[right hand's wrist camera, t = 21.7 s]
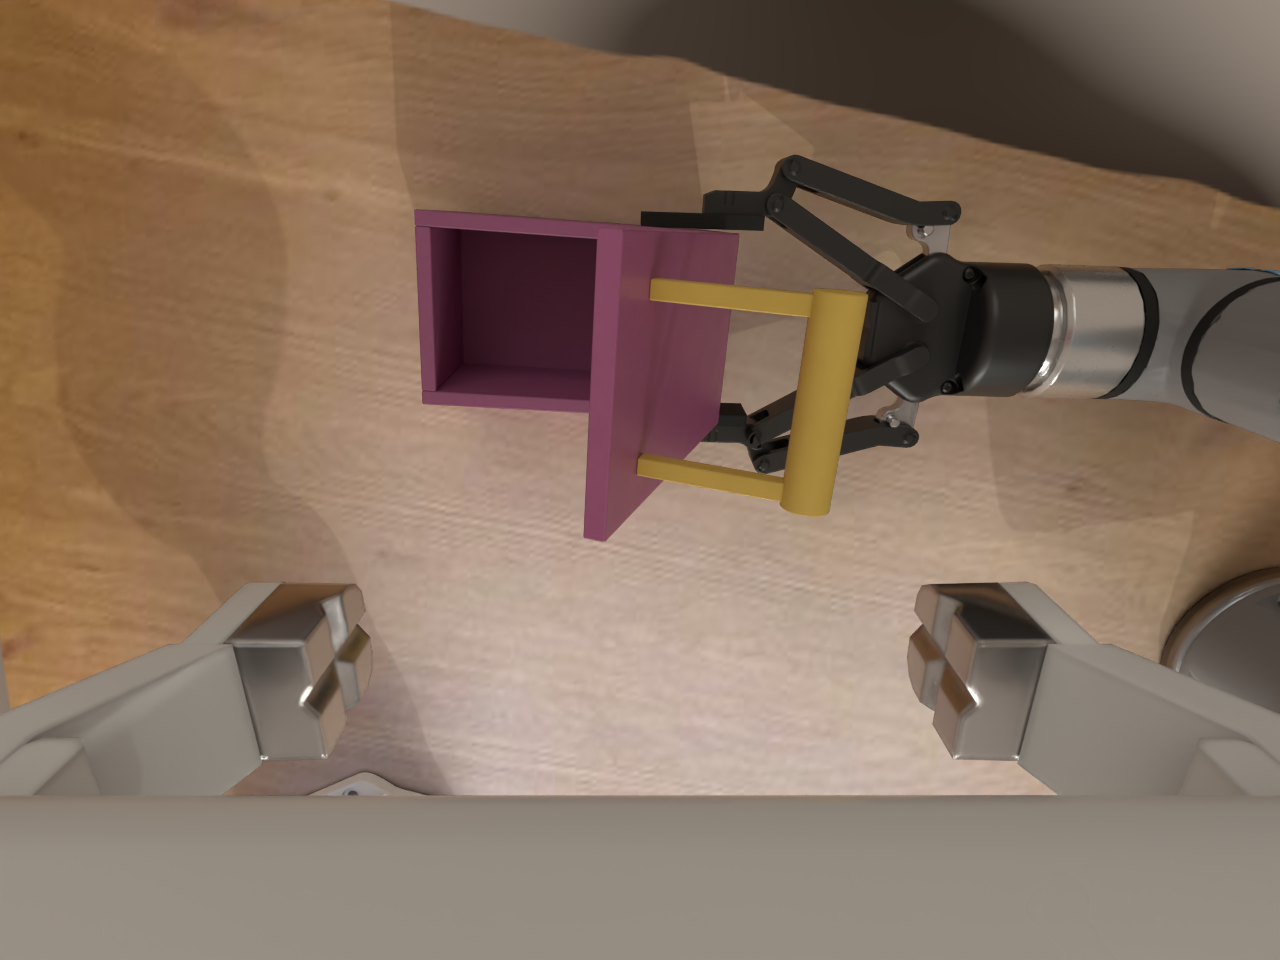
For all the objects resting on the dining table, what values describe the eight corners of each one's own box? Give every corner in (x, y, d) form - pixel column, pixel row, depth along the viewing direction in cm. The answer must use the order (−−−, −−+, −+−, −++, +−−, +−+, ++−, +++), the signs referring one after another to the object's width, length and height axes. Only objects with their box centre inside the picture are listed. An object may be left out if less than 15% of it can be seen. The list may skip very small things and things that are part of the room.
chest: (454, 371, 46) (422, 404, 38) (450, 210, 43) (413, 209, 34) (691, 385, 47) (709, 420, 39) (706, 229, 44) (730, 232, 35)
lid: (582, 538, 24) (813, 588, 21) (596, 226, 20) (874, 248, 18) (703, 421, 39) (846, 443, 36) (724, 232, 35) (882, 244, 33)
